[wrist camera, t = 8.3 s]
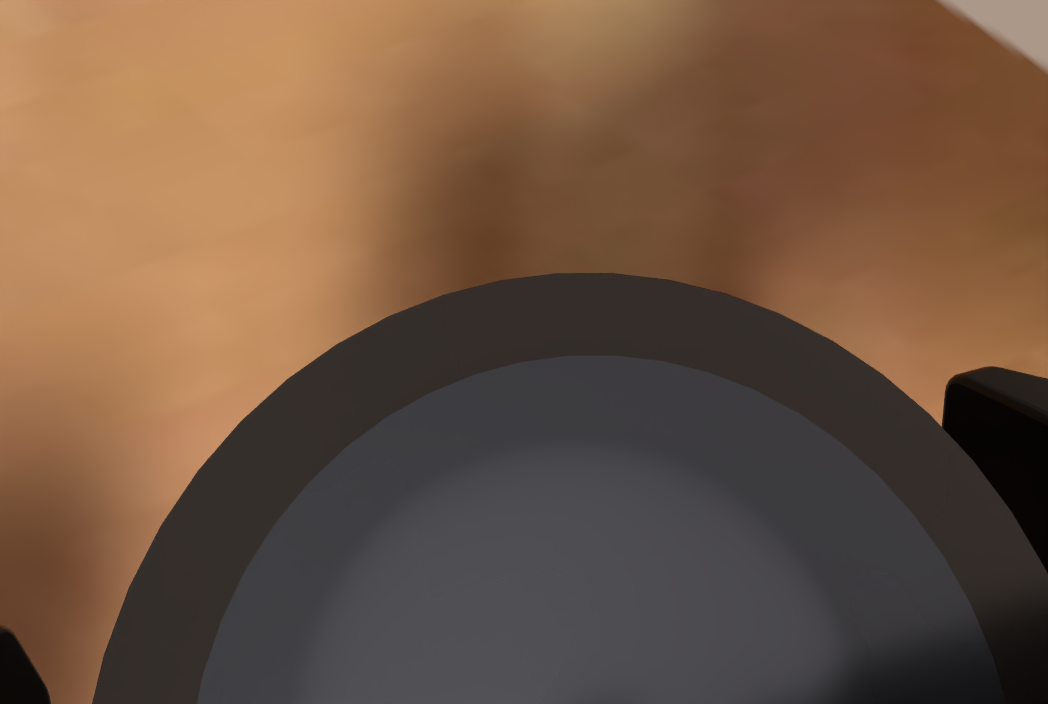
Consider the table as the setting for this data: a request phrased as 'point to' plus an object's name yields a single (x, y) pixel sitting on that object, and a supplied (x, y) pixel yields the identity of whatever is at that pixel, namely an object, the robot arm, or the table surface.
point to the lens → (585, 523)
